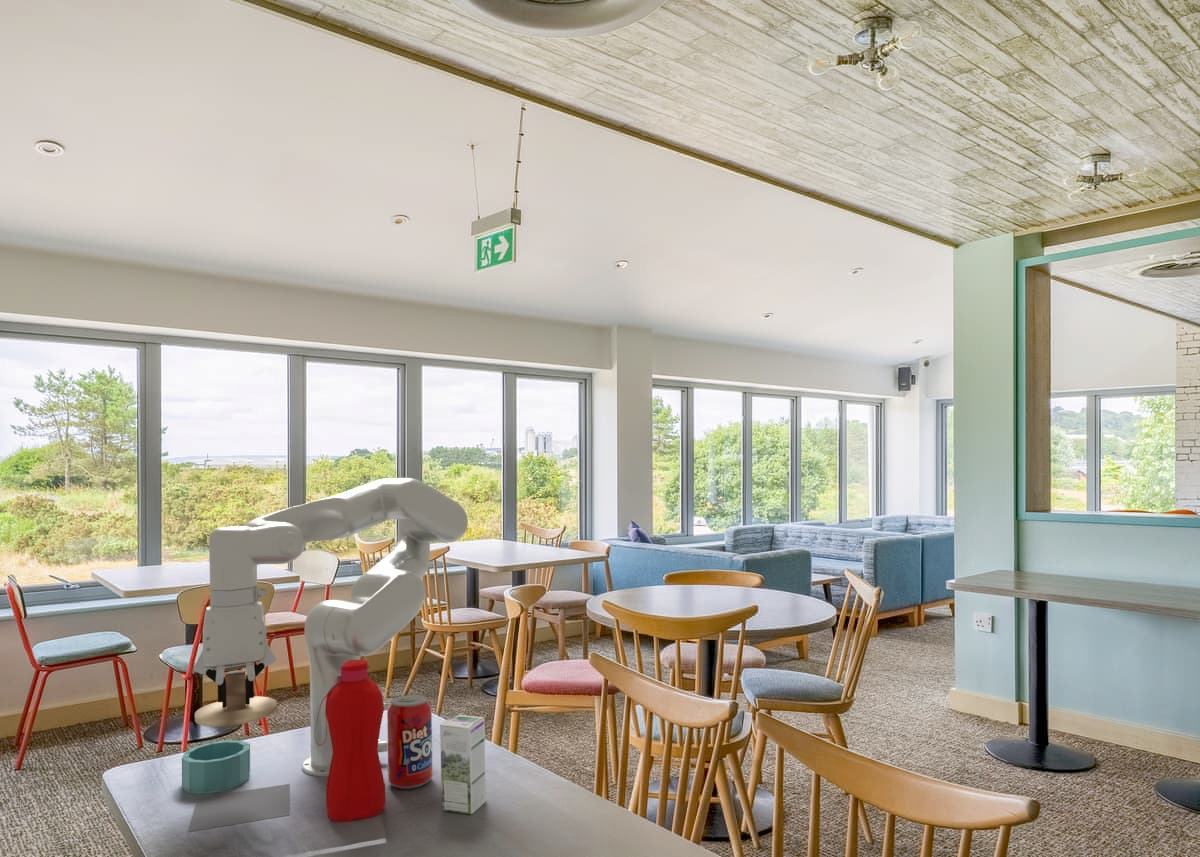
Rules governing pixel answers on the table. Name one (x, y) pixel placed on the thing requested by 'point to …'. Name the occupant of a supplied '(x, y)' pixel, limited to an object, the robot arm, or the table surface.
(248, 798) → the mat
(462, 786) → the syrup box
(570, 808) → the table surface
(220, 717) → the lid
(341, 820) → the water bottle
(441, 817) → the table surface
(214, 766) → the bowl
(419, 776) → the soda can
